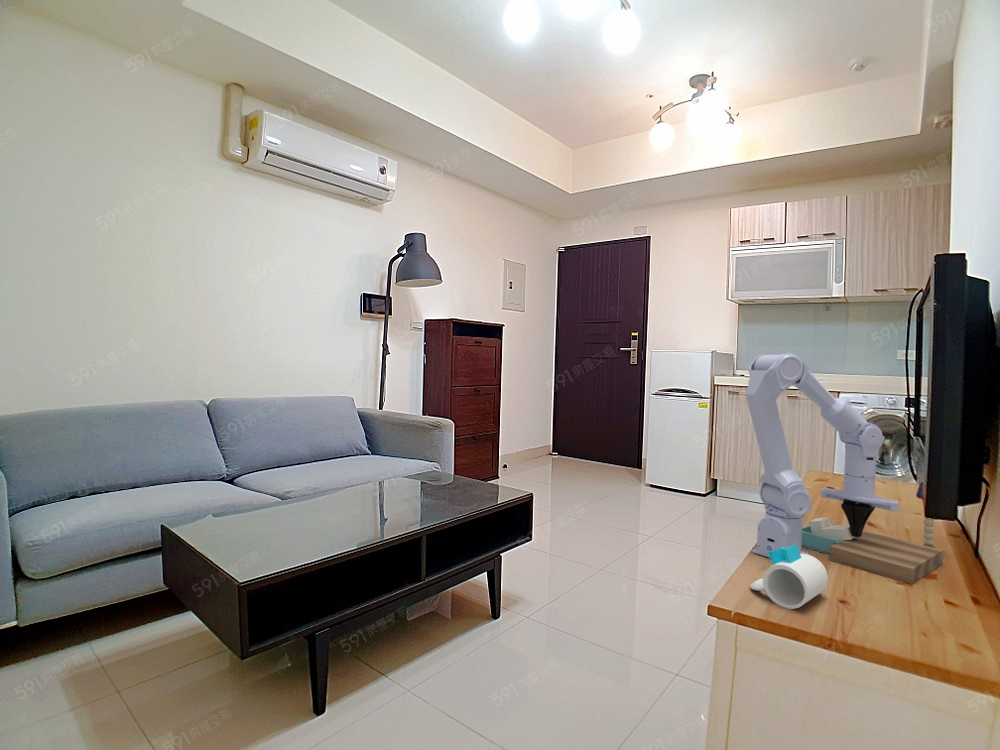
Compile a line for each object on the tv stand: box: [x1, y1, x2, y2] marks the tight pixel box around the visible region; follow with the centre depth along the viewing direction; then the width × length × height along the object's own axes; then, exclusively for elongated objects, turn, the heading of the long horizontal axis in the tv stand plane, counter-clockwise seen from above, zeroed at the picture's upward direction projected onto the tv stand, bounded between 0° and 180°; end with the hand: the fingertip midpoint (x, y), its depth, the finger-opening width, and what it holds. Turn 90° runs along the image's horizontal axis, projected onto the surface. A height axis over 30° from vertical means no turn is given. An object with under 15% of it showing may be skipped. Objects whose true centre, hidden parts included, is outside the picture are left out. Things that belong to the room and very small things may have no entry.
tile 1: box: [808, 517, 833, 537], centre depth 122 cm, size 5×5×2 cm
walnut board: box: [828, 531, 944, 585], centre depth 112 cm, size 20×14×3 cm
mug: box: [749, 545, 829, 610], centre depth 95 cm, size 12×9×12 cm
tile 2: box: [823, 524, 855, 540], centre depth 120 cm, size 5×5×2 cm
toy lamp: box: [915, 480, 936, 548], centre depth 119 cm, size 5×5×17 cm
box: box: [801, 524, 844, 555], centre depth 122 cm, size 12×9×4 cm
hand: (856, 536), depth 117 cm, fingers closed
